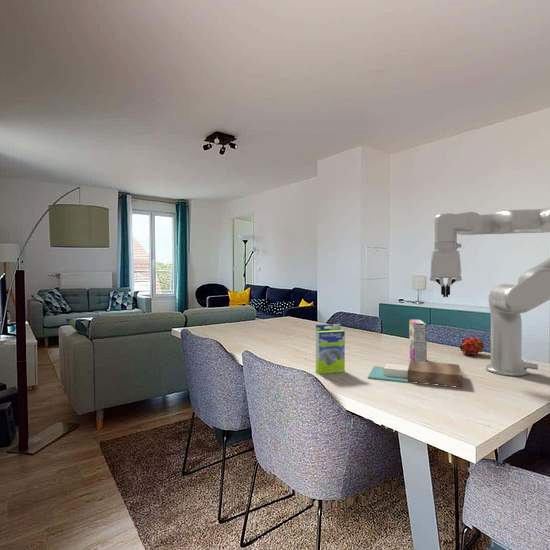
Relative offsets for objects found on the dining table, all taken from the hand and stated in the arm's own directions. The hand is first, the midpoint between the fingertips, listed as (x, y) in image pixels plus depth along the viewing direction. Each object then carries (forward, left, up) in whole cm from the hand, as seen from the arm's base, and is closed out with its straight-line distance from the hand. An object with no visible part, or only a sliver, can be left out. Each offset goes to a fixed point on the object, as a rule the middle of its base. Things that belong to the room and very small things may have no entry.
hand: (445, 296), depth 136 cm
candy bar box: (+10, -8, -27) cm, 30 cm away
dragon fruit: (-11, -29, -27) cm, 41 cm away
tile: (+16, +15, -27) cm, 34 cm away
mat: (+18, +15, -27) cm, 36 cm away
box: (+39, +19, -27) cm, 51 cm away
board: (+4, +15, -27) cm, 31 cm away
